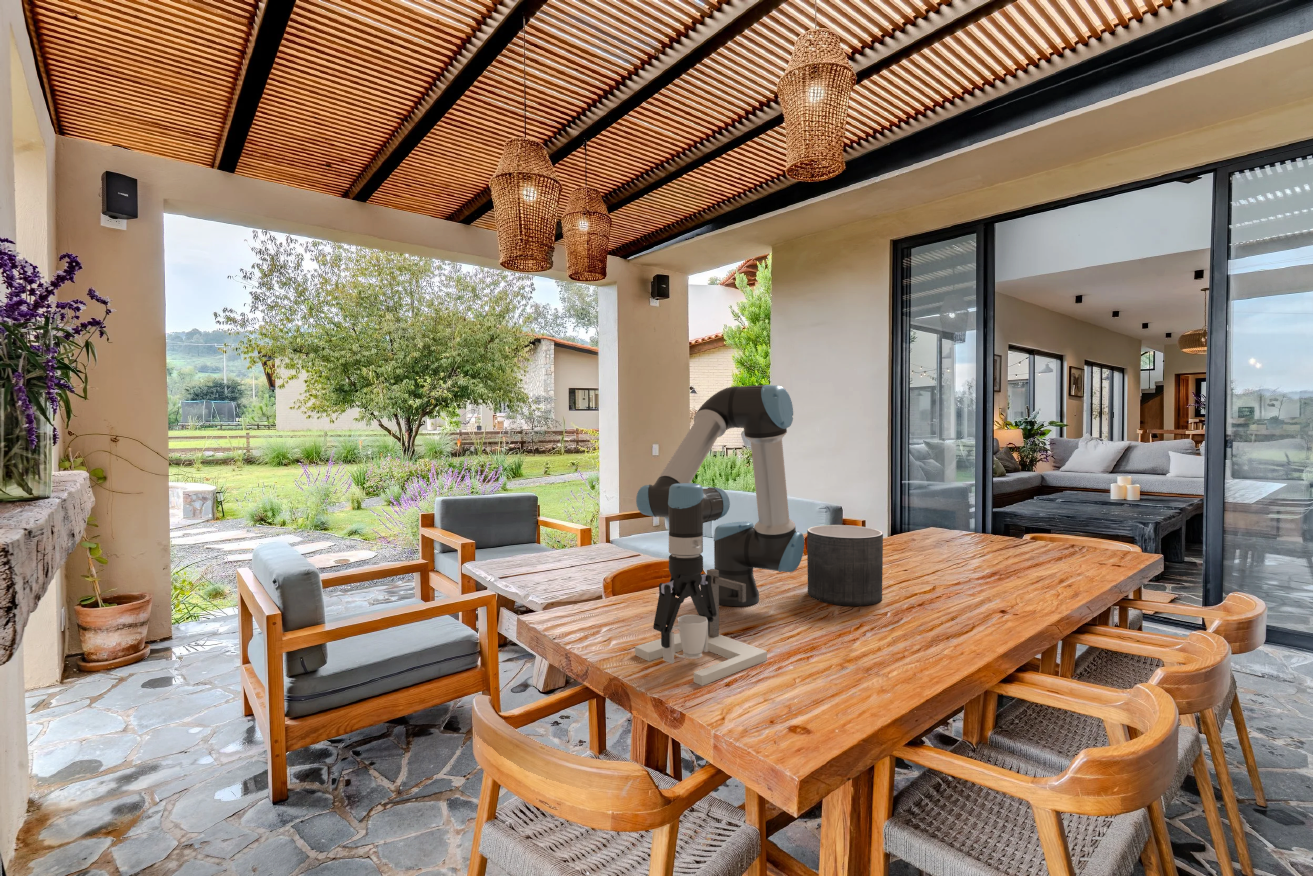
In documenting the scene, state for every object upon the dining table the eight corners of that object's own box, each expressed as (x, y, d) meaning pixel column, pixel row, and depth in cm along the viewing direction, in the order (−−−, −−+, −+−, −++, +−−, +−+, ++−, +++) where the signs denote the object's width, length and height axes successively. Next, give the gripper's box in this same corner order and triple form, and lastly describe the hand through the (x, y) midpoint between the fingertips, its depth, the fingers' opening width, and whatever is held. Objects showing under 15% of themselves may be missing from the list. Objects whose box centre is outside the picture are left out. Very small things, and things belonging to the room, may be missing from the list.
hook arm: (707, 635, 149) (706, 570, 148) (712, 634, 150) (712, 568, 150) (741, 648, 140) (741, 578, 140) (747, 646, 142) (747, 577, 141)
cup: (714, 658, 134) (714, 621, 134) (673, 666, 130) (673, 628, 130) (698, 647, 141) (698, 612, 141) (659, 654, 137) (659, 618, 136)
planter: (881, 589, 196) (882, 527, 195) (883, 610, 175) (883, 539, 174) (810, 584, 203) (810, 523, 202) (803, 603, 182) (803, 535, 181)
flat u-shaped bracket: (635, 655, 142) (635, 646, 142) (698, 634, 155) (698, 626, 155) (702, 686, 125) (702, 676, 125) (767, 660, 139) (767, 651, 139)
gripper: (658, 565, 125) (659, 674, 125) (733, 550, 139) (733, 648, 140) (635, 558, 130) (636, 663, 131) (709, 545, 145) (709, 639, 145)
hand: (686, 655), depth 135 cm, fingers closed on cup, 9 cm apart
